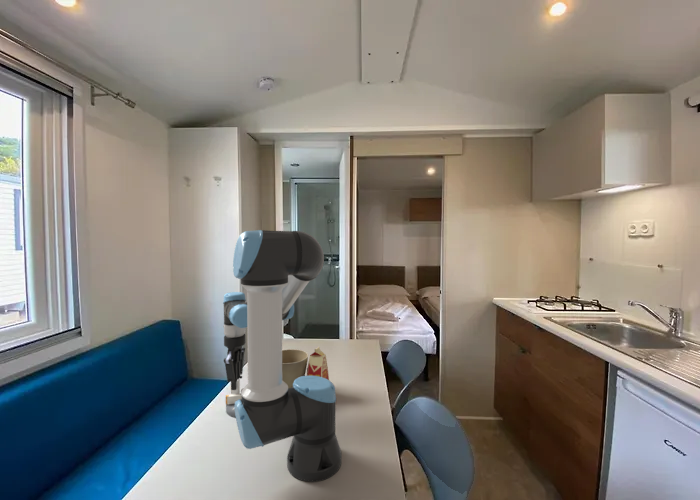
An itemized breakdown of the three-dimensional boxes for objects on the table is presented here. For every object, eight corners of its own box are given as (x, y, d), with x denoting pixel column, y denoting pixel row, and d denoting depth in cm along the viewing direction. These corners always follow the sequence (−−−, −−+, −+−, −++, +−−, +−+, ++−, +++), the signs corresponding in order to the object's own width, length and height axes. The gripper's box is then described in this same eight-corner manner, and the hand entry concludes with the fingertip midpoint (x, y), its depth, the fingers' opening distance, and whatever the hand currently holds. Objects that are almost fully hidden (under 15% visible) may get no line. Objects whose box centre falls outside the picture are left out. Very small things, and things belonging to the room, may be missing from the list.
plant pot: (268, 389, 134) (268, 351, 134) (304, 384, 139) (304, 347, 138) (271, 407, 120) (271, 364, 119) (311, 401, 125) (311, 360, 124)
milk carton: (325, 403, 123) (325, 351, 122) (301, 401, 125) (301, 349, 124) (331, 392, 132) (331, 343, 131) (309, 390, 134) (309, 342, 133)
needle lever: (251, 398, 122) (251, 386, 122) (251, 403, 118) (251, 391, 118) (226, 401, 120) (226, 389, 120) (225, 406, 116) (225, 394, 116)
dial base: (252, 420, 111) (252, 414, 111) (217, 414, 115) (217, 408, 115) (272, 400, 125) (272, 395, 125) (241, 395, 129) (240, 390, 128)
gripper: (233, 329, 127) (233, 388, 128) (216, 339, 114) (216, 405, 115) (251, 329, 126) (252, 389, 127) (236, 340, 113) (237, 406, 114)
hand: (235, 396), depth 121 cm, fingers closed
